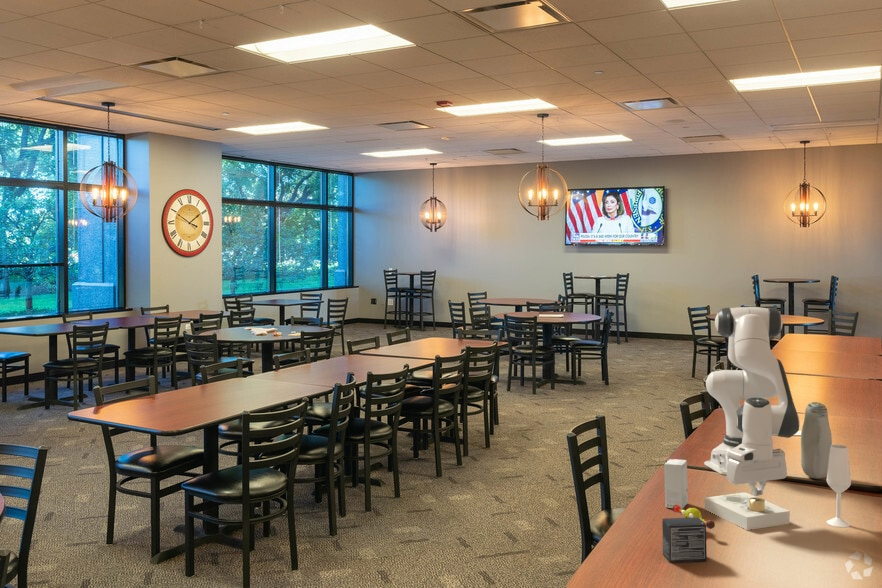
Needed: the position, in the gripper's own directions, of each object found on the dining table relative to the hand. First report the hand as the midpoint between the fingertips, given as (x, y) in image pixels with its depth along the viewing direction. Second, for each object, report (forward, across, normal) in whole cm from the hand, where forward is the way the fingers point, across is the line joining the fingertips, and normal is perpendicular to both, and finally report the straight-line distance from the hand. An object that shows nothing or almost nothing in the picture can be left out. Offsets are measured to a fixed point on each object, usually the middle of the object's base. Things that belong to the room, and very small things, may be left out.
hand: (757, 495), depth 239 cm
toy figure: (+9, +23, -1) cm, 25 cm away
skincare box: (+9, +14, -22) cm, 28 cm away
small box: (+9, +38, +16) cm, 42 cm away
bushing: (+8, 0, 0) cm, 9 cm away
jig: (+8, 0, -5) cm, 10 cm away
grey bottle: (+8, -52, -30) cm, 61 cm away
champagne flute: (+9, -22, +10) cm, 26 cm away
